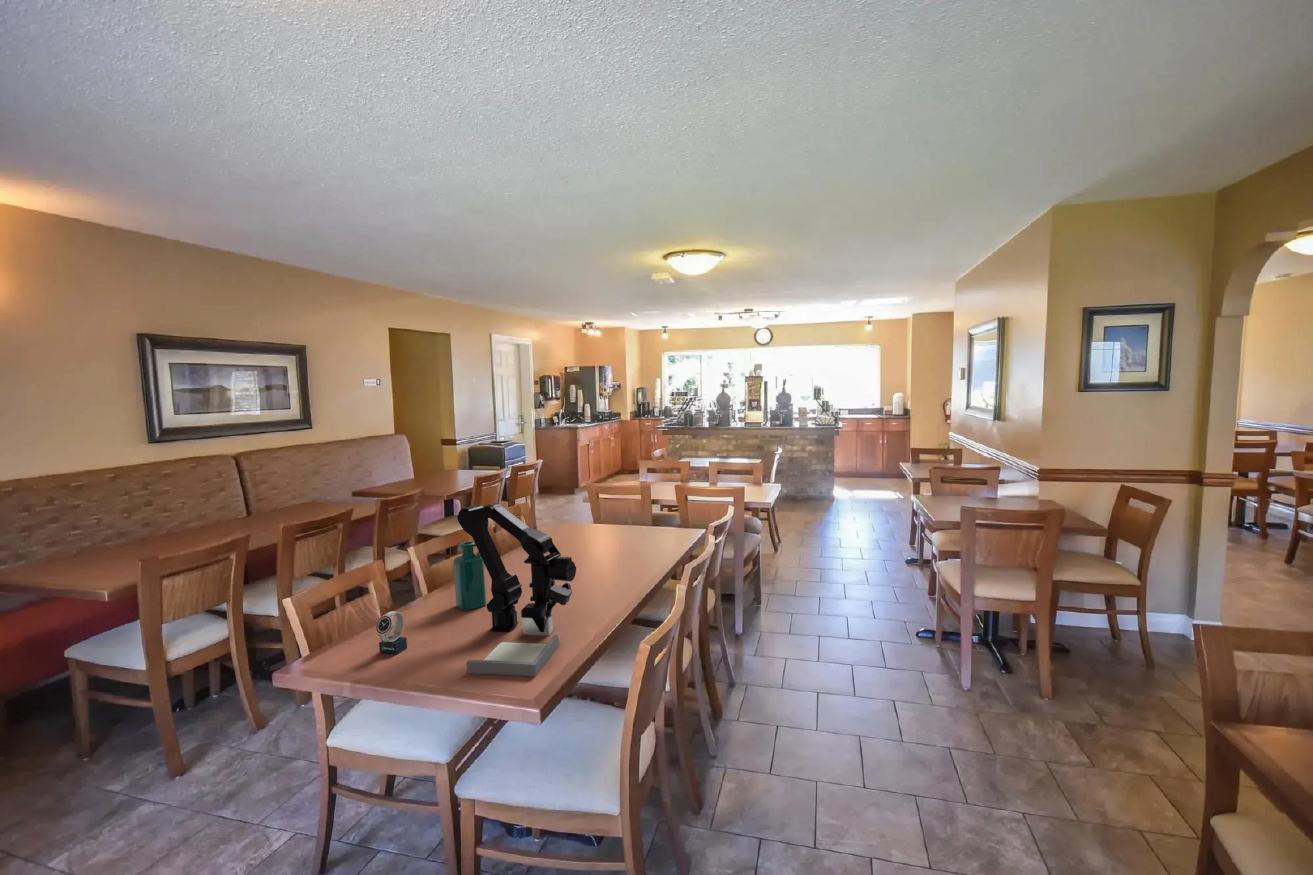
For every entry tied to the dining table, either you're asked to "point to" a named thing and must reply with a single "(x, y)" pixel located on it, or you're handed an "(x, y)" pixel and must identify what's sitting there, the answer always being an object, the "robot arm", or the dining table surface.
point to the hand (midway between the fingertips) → (544, 629)
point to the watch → (384, 627)
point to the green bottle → (469, 578)
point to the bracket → (532, 628)
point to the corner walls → (514, 663)
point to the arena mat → (515, 652)
